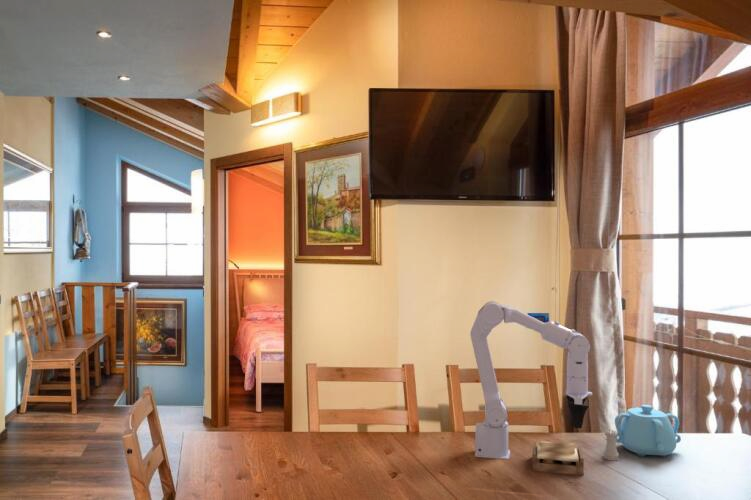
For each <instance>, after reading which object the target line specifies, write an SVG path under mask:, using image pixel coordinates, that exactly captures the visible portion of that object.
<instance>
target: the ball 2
mask: <svg viewBox="0 0 751 500" xmlns="http://www.w3.org/2000/svg"><path fill="white" fill-rule="evenodd" d="M561 462H562V463H563V464H564V465H571V463H572V461H563V460H561Z"/></svg>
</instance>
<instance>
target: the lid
mask: <svg viewBox="0 0 751 500" xmlns="http://www.w3.org/2000/svg"><path fill="white" fill-rule="evenodd" d="M539 443H540V445H539V444H536V446H537V458H539V459H551V460H563V461H575V462H579V458H578V453H577V449H578V447H577V448H576V447H575V445H576V444H575V443H569V442H557V441H542V440H541V441H539Z"/></svg>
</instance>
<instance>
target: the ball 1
mask: <svg viewBox="0 0 751 500" xmlns="http://www.w3.org/2000/svg"><path fill="white" fill-rule="evenodd" d="M553 462H554V461H553V460H551V459H542V463H551V464H553Z"/></svg>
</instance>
